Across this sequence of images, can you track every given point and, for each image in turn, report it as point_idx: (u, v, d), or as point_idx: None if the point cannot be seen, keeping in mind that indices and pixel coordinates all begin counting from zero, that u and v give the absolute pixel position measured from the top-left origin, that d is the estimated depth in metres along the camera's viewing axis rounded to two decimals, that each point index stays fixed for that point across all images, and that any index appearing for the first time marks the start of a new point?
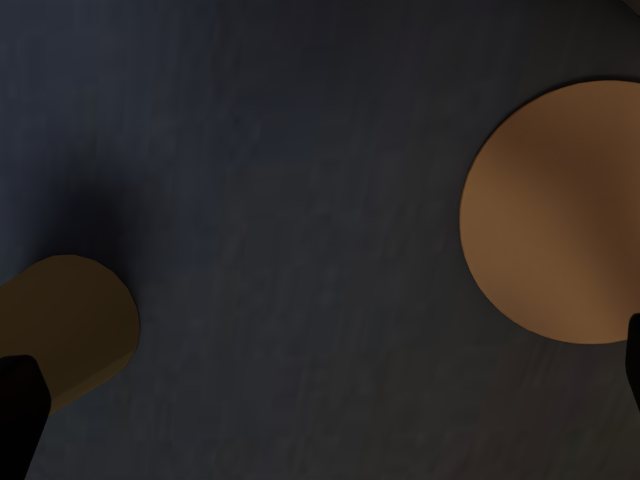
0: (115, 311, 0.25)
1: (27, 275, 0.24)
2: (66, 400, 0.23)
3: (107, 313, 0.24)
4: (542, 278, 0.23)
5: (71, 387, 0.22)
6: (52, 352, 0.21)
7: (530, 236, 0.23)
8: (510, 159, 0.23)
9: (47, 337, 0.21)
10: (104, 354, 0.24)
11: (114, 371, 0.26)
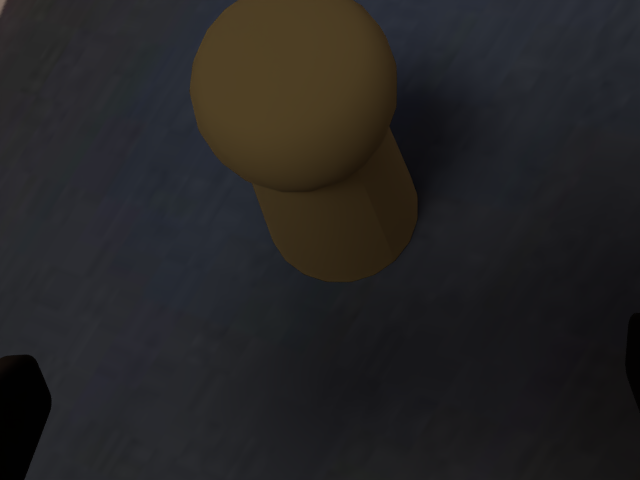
0: (412, 197, 0.22)
1: None
2: (358, 227, 0.19)
3: (410, 190, 0.22)
4: None
5: (375, 212, 0.19)
6: (393, 154, 0.19)
7: None
8: None
9: (393, 140, 0.19)
10: (396, 219, 0.21)
11: (373, 262, 0.22)
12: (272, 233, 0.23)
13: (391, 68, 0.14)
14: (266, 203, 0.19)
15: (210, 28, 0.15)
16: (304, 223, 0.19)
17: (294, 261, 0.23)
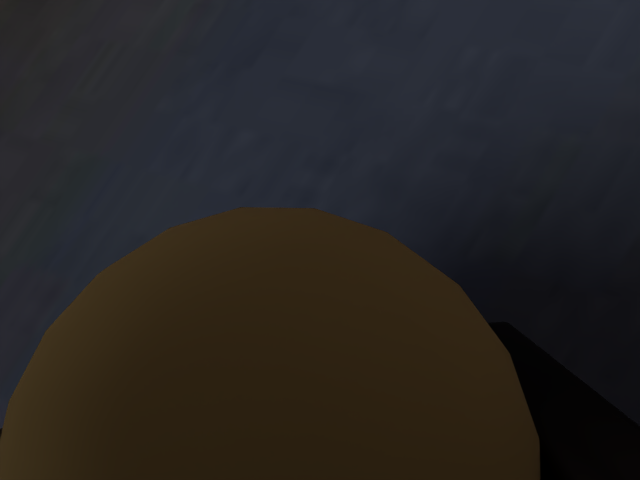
0: None
1: None
2: None
3: None
4: None
5: None
6: None
7: None
8: None
9: None
10: None
11: None
12: None
13: (536, 479, 0.05)
14: None
15: (52, 330, 0.06)
16: None
17: None
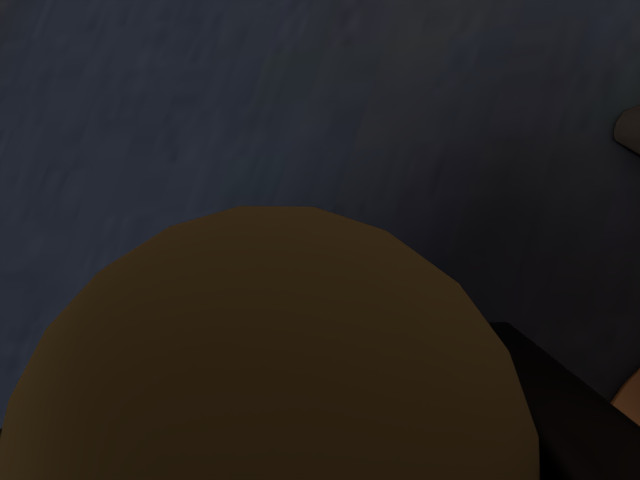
0: None
1: None
2: None
3: None
4: None
5: None
6: None
7: None
8: None
9: None
10: None
11: None
12: None
13: (536, 477, 0.05)
14: None
15: (52, 329, 0.06)
16: None
17: None
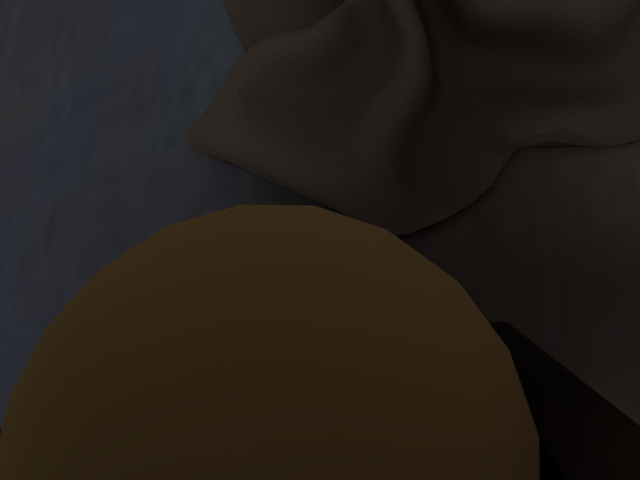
0: None
1: None
2: None
3: None
4: None
5: None
6: None
7: None
8: None
9: None
10: None
11: None
12: None
13: (536, 475, 0.05)
14: None
15: (52, 327, 0.06)
16: None
17: None
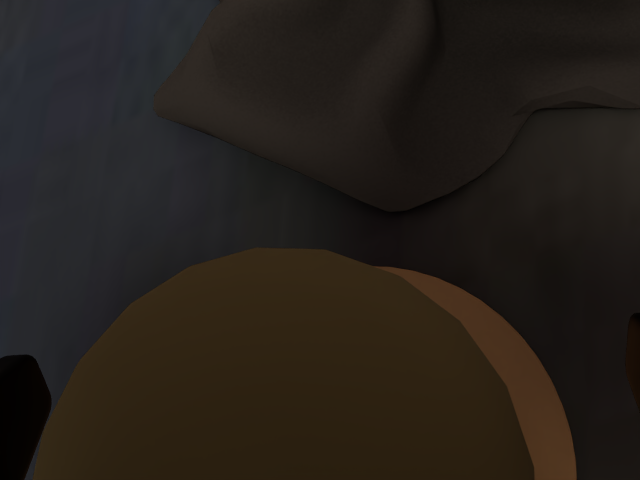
0: None
1: None
2: None
3: None
4: None
5: None
6: None
7: None
8: None
9: None
10: None
11: None
12: None
13: None
14: None
15: (82, 366, 0.06)
16: None
17: None
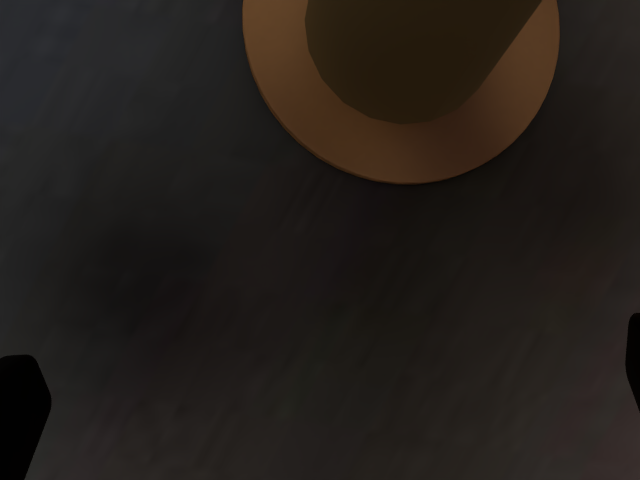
0: None
1: None
2: (450, 56, 0.14)
3: None
4: None
5: (480, 50, 0.14)
6: None
7: None
8: None
9: None
10: (478, 75, 0.16)
11: (414, 110, 0.17)
12: (319, 7, 0.17)
13: None
14: None
15: None
16: (398, 12, 0.13)
17: (323, 57, 0.18)
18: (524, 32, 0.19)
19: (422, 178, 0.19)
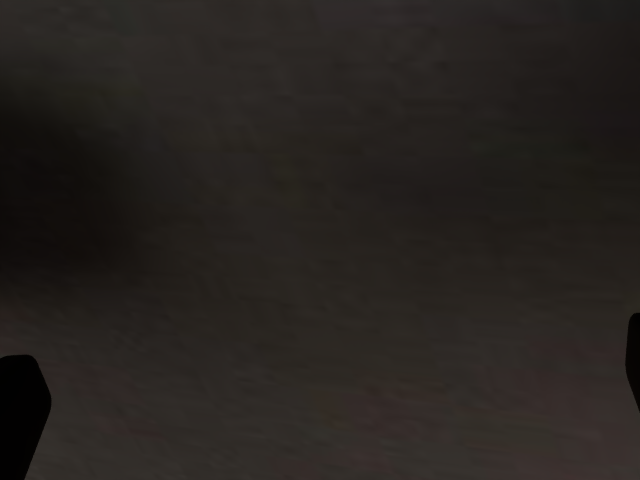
0: None
1: None
2: None
3: None
4: None
5: None
6: None
7: None
8: None
9: None
10: None
11: None
12: None
13: None
14: None
15: None
16: None
17: None
18: None
19: None
